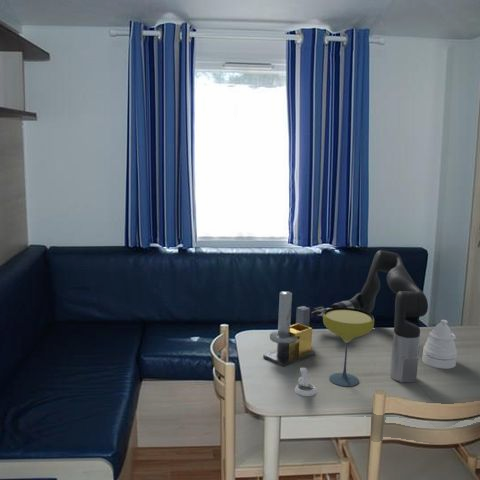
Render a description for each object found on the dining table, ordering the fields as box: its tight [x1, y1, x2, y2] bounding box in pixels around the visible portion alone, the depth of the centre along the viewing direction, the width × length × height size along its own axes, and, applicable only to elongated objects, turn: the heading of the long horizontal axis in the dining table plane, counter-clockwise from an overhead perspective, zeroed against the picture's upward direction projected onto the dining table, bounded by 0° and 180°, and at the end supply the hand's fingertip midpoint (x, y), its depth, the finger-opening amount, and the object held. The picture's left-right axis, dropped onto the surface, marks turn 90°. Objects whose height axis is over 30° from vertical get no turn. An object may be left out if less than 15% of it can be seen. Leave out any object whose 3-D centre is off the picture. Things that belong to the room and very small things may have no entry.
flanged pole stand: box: [262, 291, 316, 368], centre depth 219 cm, size 19×11×27 cm, turn 132°
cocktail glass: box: [322, 308, 375, 388], centre depth 199 cm, size 18×18×25 cm
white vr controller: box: [294, 367, 317, 397], centre depth 190 cm, size 8×12×7 cm
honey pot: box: [421, 319, 458, 369], centre depth 219 cm, size 13×13×18 cm
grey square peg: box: [295, 305, 311, 327], centre depth 234 cm, size 4×4×16 cm
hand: (319, 317), depth 241 cm, fingers open, 8 cm apart
